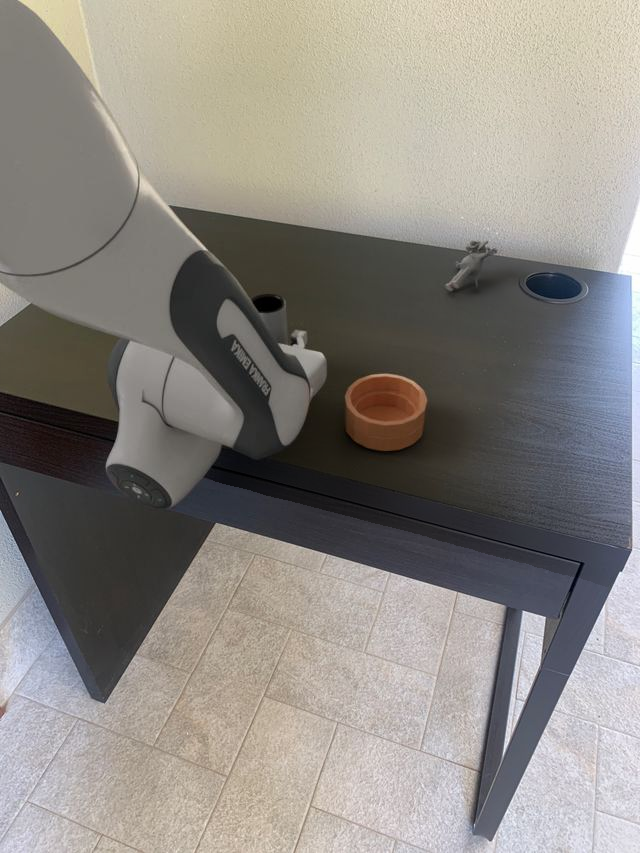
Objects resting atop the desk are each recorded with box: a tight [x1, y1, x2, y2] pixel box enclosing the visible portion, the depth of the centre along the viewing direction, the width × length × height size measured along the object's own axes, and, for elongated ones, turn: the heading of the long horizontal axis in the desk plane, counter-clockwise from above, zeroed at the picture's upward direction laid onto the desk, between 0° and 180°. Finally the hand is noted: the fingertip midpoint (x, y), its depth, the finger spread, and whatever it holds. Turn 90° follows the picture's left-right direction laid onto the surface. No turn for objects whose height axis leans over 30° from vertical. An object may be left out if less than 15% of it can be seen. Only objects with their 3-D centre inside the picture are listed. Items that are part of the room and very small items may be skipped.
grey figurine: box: [444, 240, 498, 293], centre depth 104 cm, size 10×6×9 cm
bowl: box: [343, 373, 428, 452], centre depth 79 cm, size 9×9×4 cm
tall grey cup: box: [250, 293, 289, 345], centre depth 85 cm, size 4×4×10 cm
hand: (266, 327), depth 85 cm, fingers open, 8 cm apart
